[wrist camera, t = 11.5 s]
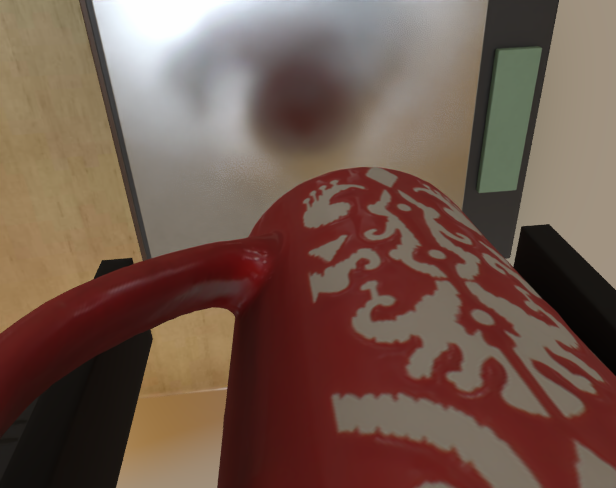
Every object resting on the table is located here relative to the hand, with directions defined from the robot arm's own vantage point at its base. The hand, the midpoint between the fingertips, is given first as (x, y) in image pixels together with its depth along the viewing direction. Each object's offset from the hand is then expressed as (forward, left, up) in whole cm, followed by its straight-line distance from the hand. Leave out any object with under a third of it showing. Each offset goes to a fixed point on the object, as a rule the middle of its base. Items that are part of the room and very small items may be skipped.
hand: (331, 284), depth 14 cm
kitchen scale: (-2, 0, -15) cm, 15 cm away
